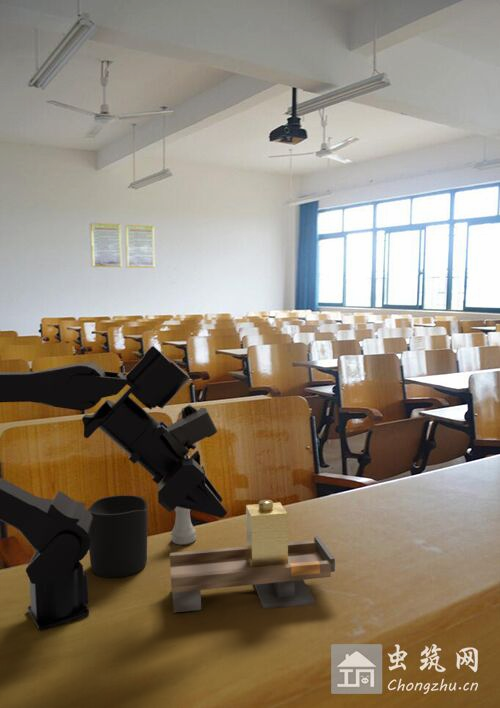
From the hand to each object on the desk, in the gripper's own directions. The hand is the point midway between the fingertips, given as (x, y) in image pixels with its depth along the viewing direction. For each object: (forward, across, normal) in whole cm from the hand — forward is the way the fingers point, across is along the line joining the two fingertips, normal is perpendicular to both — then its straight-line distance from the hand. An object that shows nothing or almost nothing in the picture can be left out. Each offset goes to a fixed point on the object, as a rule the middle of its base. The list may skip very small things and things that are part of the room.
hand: (222, 508), depth 79 cm
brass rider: (+10, 0, +2) cm, 11 cm away
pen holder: (-2, +13, +20) cm, 24 cm away
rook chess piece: (+6, +21, +12) cm, 25 cm away
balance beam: (+11, 0, +6) cm, 13 cm away
